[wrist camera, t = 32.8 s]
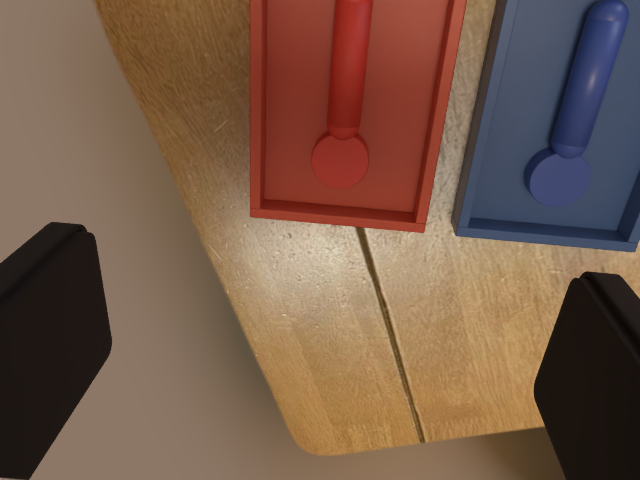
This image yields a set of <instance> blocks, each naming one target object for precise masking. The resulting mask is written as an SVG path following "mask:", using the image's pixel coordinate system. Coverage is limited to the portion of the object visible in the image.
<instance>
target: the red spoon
mask: <svg viewBox="0 0 640 480" xmlns="http://www.w3.org/2000/svg"><path fill="white" fill-rule="evenodd" d="M372 6H373V0H336V2H335V16H334V30H333V44H332V57H331V71H330V85H329V99H328V113H327V128H328V131H327V132H325V133H324V134H322V135H321V136H320V137H319V139H318V140H317V142H316V143H315V146H314V149H313V153H312V158H311V164H312V169H313V171H314V174H315V175H316V177H317V178H318V179H319V180H320V181H321V182H322V183H323V184H325V185H327V186H329V187H332V188H337V189H343V188H349V187H352V186H354V185H356V184H357V183H359V182H360V181H361V180H362V179H363V178H364V176H365V175H366V173H367V170H368V166H369V151H368V147H367V144H366V142H365V140H364V139H363V138H362V137H361V136H360V135H359V134H358V133H357V132H358V130H359V128H360V121H361V112H362V102H363V93H364V83H365V73H366V64H367V54H368V45H369V35H370V25H371V16H372Z"/></svg>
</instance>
